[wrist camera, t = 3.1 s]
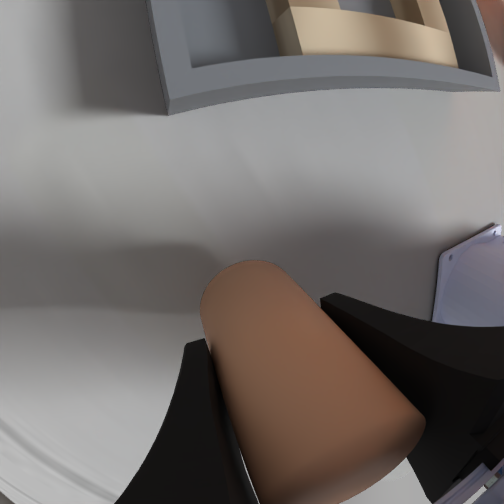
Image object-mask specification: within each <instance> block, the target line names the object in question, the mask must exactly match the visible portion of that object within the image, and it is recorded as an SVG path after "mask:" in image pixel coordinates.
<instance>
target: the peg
mask: <svg viewBox="0 0 504 504" xmlns="http://www.w3.org/2000/svg"><path fill="white" fill-rule="evenodd" d="M200 316H201V320H202V324H203V328H204V332H205V336H206V339H207V343H208V347H209V350H210V354H211V357H212V361H213V364H214V368H215V371H216V375H217V379H218V382H219V385H220V389H221V392H222V395H223V399H224V402H225V405H226V408H227V412H228V415H229V418H230V421H231V424H232V427H233V430H234V433H235V436H236V439H237V442H238V445H239V448H240V451H241V454H242V457H243V460H244V463H245V465H246V468H247V471H248V474H249V477H250V479H251V482H252V485H253V487H254V490H255V493H256V495H257V498H258V500H259V503H260V504H339V503H341V502H343V501H345V500H348V499H350V498H352V497H353V496H355V495H357V494H359V493H361V492H362V491H364V490H366V489H367V488H369V487H371V486H372V485H373V484H375V483H376V482H378V481H379V480H381V479H382V478H383V477H385V476H386V475H387V474H388V473H390V472H391V471H392V470H393V469H394V468H396V467H397V466H398V465H399V464H400V463H401V462H402V461H403V460H404V459H405V458H406V457H407V456H408V454H409V453H410V452H411V451H412V450H413V448H414V447H415V446H416V444H417V443H418V441H419V440H420V438H421V436H422V434H423V432H424V429H425V425H426V420H425V417H424V416H423V415H422V414H421V413H420V412H419V411H418V409H417V408H416V407H415V406H414V405H413V404H412V403H411V402H410V401H409V400H408V399H407V398H406V397H405V396H404V395H403V394H402V393H401V391H400V390H399V389H398V388H397V387H396V386H395V385H394V384H393V383H392V382H391V381H390V380H389V379H388V378H387V377H386V376H385V375H384V374H383V373H382V371H381V370H380V369H379V368H378V367H377V366H376V365H375V364H374V363H373V362H372V361H371V360H370V359H369V358H368V357H367V356H366V355H365V354H364V353H363V352H362V351H361V350H360V348H359V347H358V346H357V345H356V344H355V343H354V342H353V341H352V340H351V339H350V338H349V337H348V336H347V335H346V334H345V333H344V332H343V331H342V330H341V329H340V328H339V327H338V326H337V325H336V324H335V323H334V321H333V320H332V319H331V318H330V317H329V316H328V315H327V314H326V313H325V312H324V311H323V310H322V309H321V308H320V307H319V306H318V305H317V304H316V303H315V302H314V301H313V300H312V299H311V298H310V297H309V296H308V295H307V294H306V293H305V292H304V291H303V290H302V288H301V287H300V286H299V285H298V284H297V283H296V282H295V281H294V280H293V279H292V278H291V277H290V276H289V275H288V274H287V273H286V272H285V271H284V270H283V269H281V268H280V267H278V266H277V265H275V264H272V263H270V262H266V261H260V260H250V261H243V262H239V263H236V264H234V265H231V266H229V267H227V268H226V269H224V270H223V271H221V272H220V273H219V274H217V275H216V276H215V277H214V278H213V279H212V281H211V282H210V283H209V284H208V286H207V287H206V289H205V291H204V293H203V296H202V299H201V304H200Z"/></svg>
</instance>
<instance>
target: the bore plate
mask: <svg viewBox="0 0 504 504" xmlns="http://www.w3.org/2000/svg"><path fill="white" fill-rule="evenodd" d="M265 1H266V4H267V8H268V11H269V15H270V19H271V23H272V26H273V30H274V34H275V38H276V42H277V46H278V50H279V54H280V57H282V56H300V55H355V56H373V57H385V58H395V59H404V60H412V61H419V62H426V63H432V64H437V65H443V66H448V67H453V68H457V69H459V68H458V64H457V59H456V55H455V51H454V47H453V44H452V40H451V36H450V33H449V29H448V26H447V23H446V20H445V17H444V14H443V11H442V8H441V5H440V2H439V0H390V2H391V5H392V8H393V11H394V14H395V17H396V19H395V18H390V17H385V16H380V15H374V14H369V13H362V12H355V11H347V10H341V9H340V6H339V3H338V0H265Z"/></svg>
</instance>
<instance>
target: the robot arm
mask: <svg viewBox="0 0 504 504" xmlns="http://www.w3.org/2000/svg"><path fill="white" fill-rule="evenodd" d="M320 303H321V309H322V310H323V311H324V312H325V313H326V314H327V315H328V316H329V317H330V318H331V319H332V320H333V321H334V323H335V324H336V325H337V326H338V327H339V328H340V329H341V330H342V331H343V332H344V333H345V334H346V335H347V336H348V337H349V338H350V339H351V340H352V341H353V342H354V343H355V344H356V345H357V346H358V347H359V348H360V350H361V351H362V352H363V353H364V354H365V355H366V356H367V357H368V358H369V359H370V360H371V361H372V362H373V363H374V364H375V365H376V366H377V367H378V368H379V369H380V370H381V371H382V373H383V374H384V375H385V376H386V377H387V378H388V379H389V380H390V381H391V382H392V383H393V384H394V385H395V386H396V387H397V388H398V389H399V390H400V391H401V393H402V394H403V395H404V396H405V397H406V398H407V399H408V400H409V401H410V402H411V403H412V404H413V405H414V406H415V407H416V408H417V409H418V411H419V412H420V413H421V414H422V415H423V416H424V417H425V420H426V425H425V429H424V432H423V434H422V436H421V438H420V440H419V441H418V443H417V444H416V446H415V447H414V448H413V450H412V451H411V452H410V453H409V454H408V456H407V459H408V461H409V463H410V465H411V466H412V468H413V470H414V472H415V474H416V476H417V478H418V480H419V482H420V484H421V486H422V488H423V490H424V492H425V495H426V497H427V498H428V499H429V501H430V502H431V503H432V504H463V503H464V502H465V501H467V500H468V499H469V498H470V497H471V496H472V495H473V494H475V493H476V492H477V491H478V490H479V489H480V488H481V487H482V486H483V485H484V484H485V483H486V482H487V481H488V480H489V479H490V478H491V477H492V476H493V475H494V474H495V473H496V472H497V471H498V470H499V469H500V468H501V467H502V466H503V467H502V475H501V477H500V478H499V479H498V480H497V481H496V482H494V483H493V484H492V485H491V486H490V487H489V488H488V489H487V490H486V491H485V492H484V493H483V494H482V495H481V496H480V497H479V498H477V499H476V501H474V502H473V503H472V504H504V236H501V225H499V224H496V225H494V226H492V227H491V228H489V229H487V230H485V231H483V232H481V233H480V234H478V235H476V236H474V237H472V238H470V239H468V240H466V241H464V242H463V243H461V244H459V245H457V246H455V247H453V248H451V249H449V250H447V251H445V252H443V253H442V254H441V256H440V259H439V269H438V280H437V289H436V297H435V305H434V312H433V318H432V322H431V321H426V320H421V319H417V318H413V317H409V316H405V315H402V314H398V313H395V312H391V311H388V310H385V309H382V308H379V307H376V306H373V305H370V304H368V303H365V302H362V301H359V300H356V299H354V298H351V297H348V296H345V295H342V294H339V293H333V294H330V295H328V296H325V297H323V298H320ZM114 504H259V503H258V501H257V498H256V496H255V493H254V491H253V488H252V486H251V483H250V481H249V478H248V476H247V473H246V470H245V467H244V464H243V460H242V457H241V453H240V449H239V445H238V442H237V439H236V436H235V433H234V430H233V427H232V424H231V421H230V418H229V415H228V412H227V408H226V405H225V402H224V399H223V395H222V392H221V389H220V385H219V382H218V379H217V375H216V371H215V368H214V364H213V361H212V357H211V354H210V351H209V349H208V346H207V344H206V341H205V338H203V339H200V340H197V341H193V342H190V343H187V344H186V345H185V347H184V354H183V359H182V364H181V368H180V372H179V376H178V380H177V383H176V387H175V390H174V394H173V397H172V400H171V402H170V405H169V408H168V411H167V414H166V416H165V419H164V421H163V424H162V426H161V428H160V431H159V433H158V435H157V437H156V439H155V441H154V443H153V445H152V447H151V449H150V451H149V453H148V455H147V456H146V458H145V460H144V462H143V463H142V465H141V467H140V468H139V470H138V472H137V473H136V474H135V476H134V477H133V479H132V480H131V482H130V483H129V485H128V486H127V488H126V489H125V491H124V492H123V493H122V495H121V496H120V497H119V499H118V500H117V501H116V502H115V503H114Z"/></svg>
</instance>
